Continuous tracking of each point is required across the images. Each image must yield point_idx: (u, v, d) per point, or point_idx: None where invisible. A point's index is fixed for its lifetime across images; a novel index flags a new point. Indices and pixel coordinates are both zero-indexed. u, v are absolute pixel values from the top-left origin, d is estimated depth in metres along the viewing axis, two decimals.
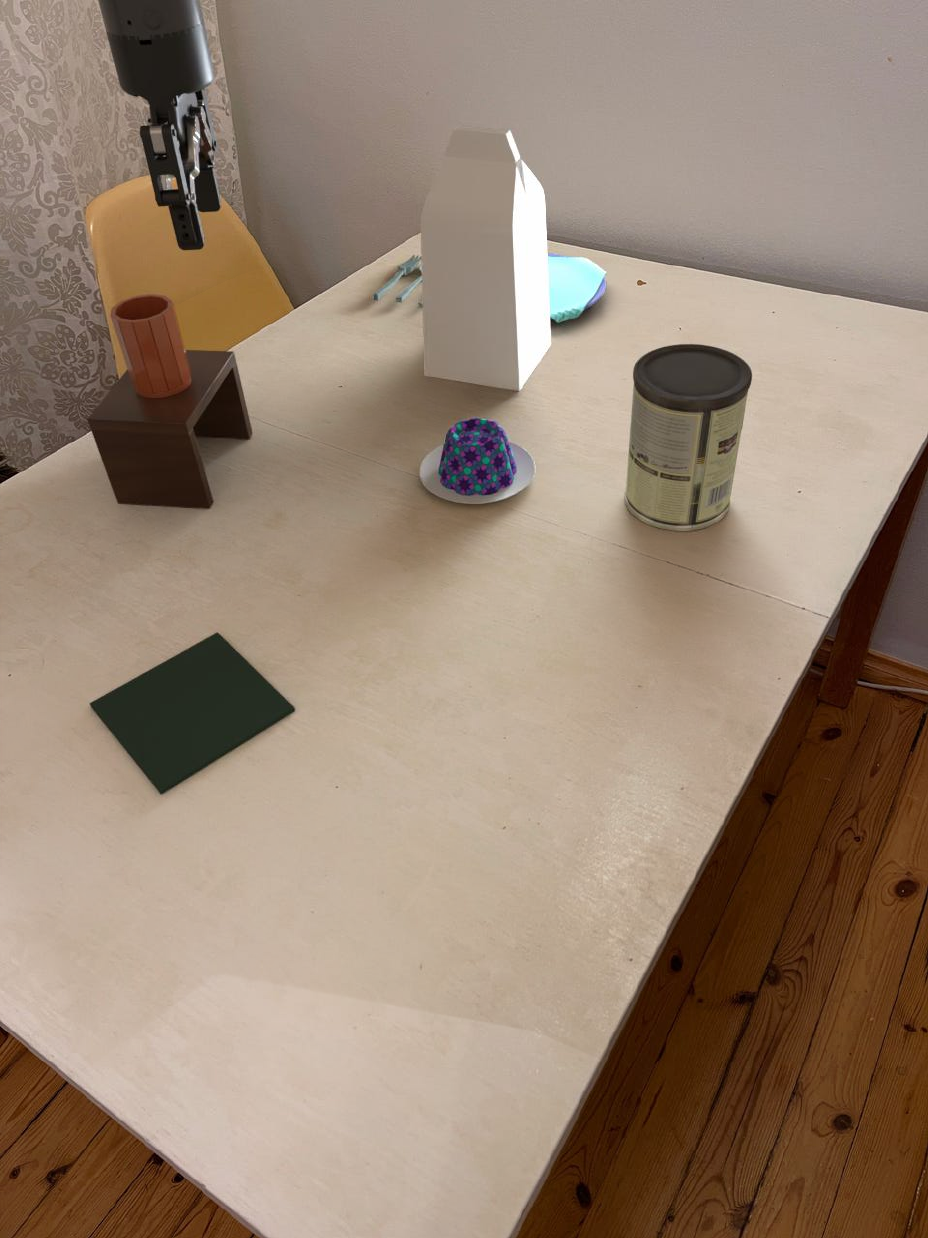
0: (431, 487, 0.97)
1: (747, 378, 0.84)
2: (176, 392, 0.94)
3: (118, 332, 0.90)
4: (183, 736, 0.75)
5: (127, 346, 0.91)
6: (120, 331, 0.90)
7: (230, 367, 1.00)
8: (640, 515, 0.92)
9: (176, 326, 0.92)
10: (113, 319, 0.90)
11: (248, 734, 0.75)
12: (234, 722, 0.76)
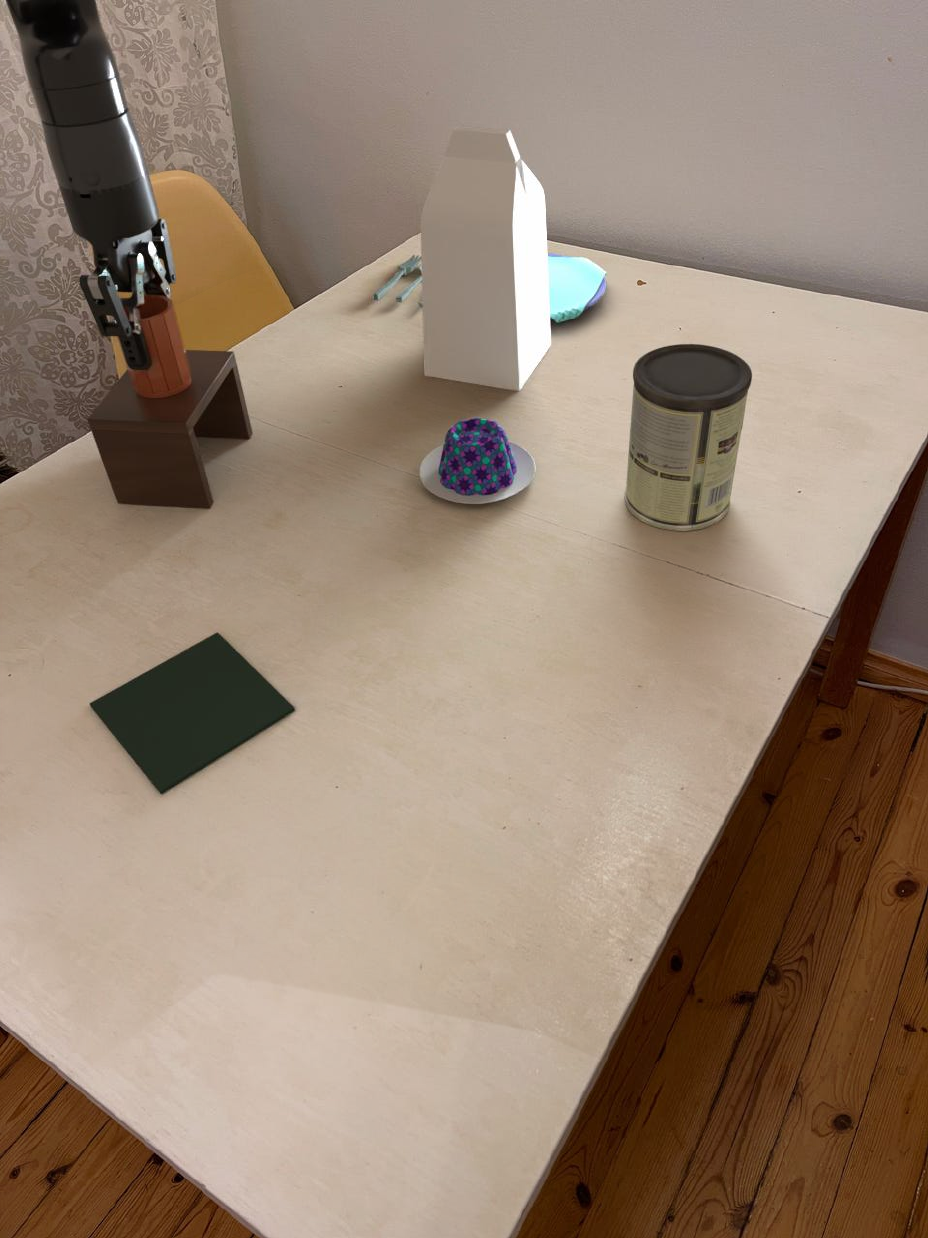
0: (431, 487, 0.97)
1: (747, 378, 0.84)
2: (176, 392, 0.94)
3: None
4: (183, 736, 0.75)
5: None
6: None
7: (230, 367, 1.00)
8: (640, 515, 0.92)
9: (176, 326, 0.92)
10: None
11: (248, 734, 0.75)
12: (234, 722, 0.76)
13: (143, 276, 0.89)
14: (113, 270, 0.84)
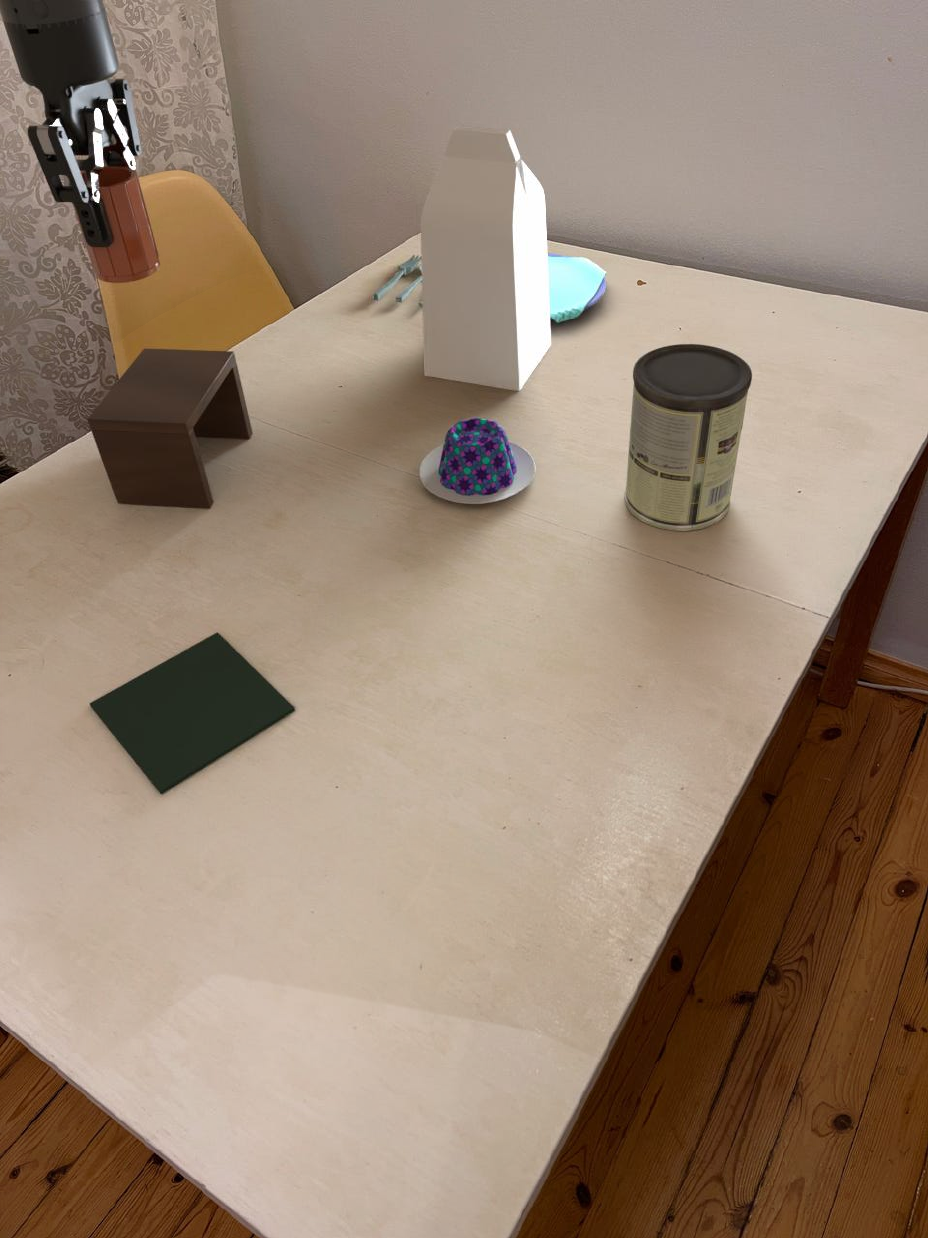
0: (431, 487, 0.97)
1: (747, 378, 0.84)
2: (141, 276, 0.85)
3: None
4: (183, 736, 0.75)
5: None
6: None
7: (230, 367, 1.00)
8: (640, 515, 0.92)
9: (141, 199, 0.83)
10: None
11: (248, 734, 0.75)
12: (234, 722, 0.76)
13: (102, 138, 0.79)
14: (66, 123, 0.75)
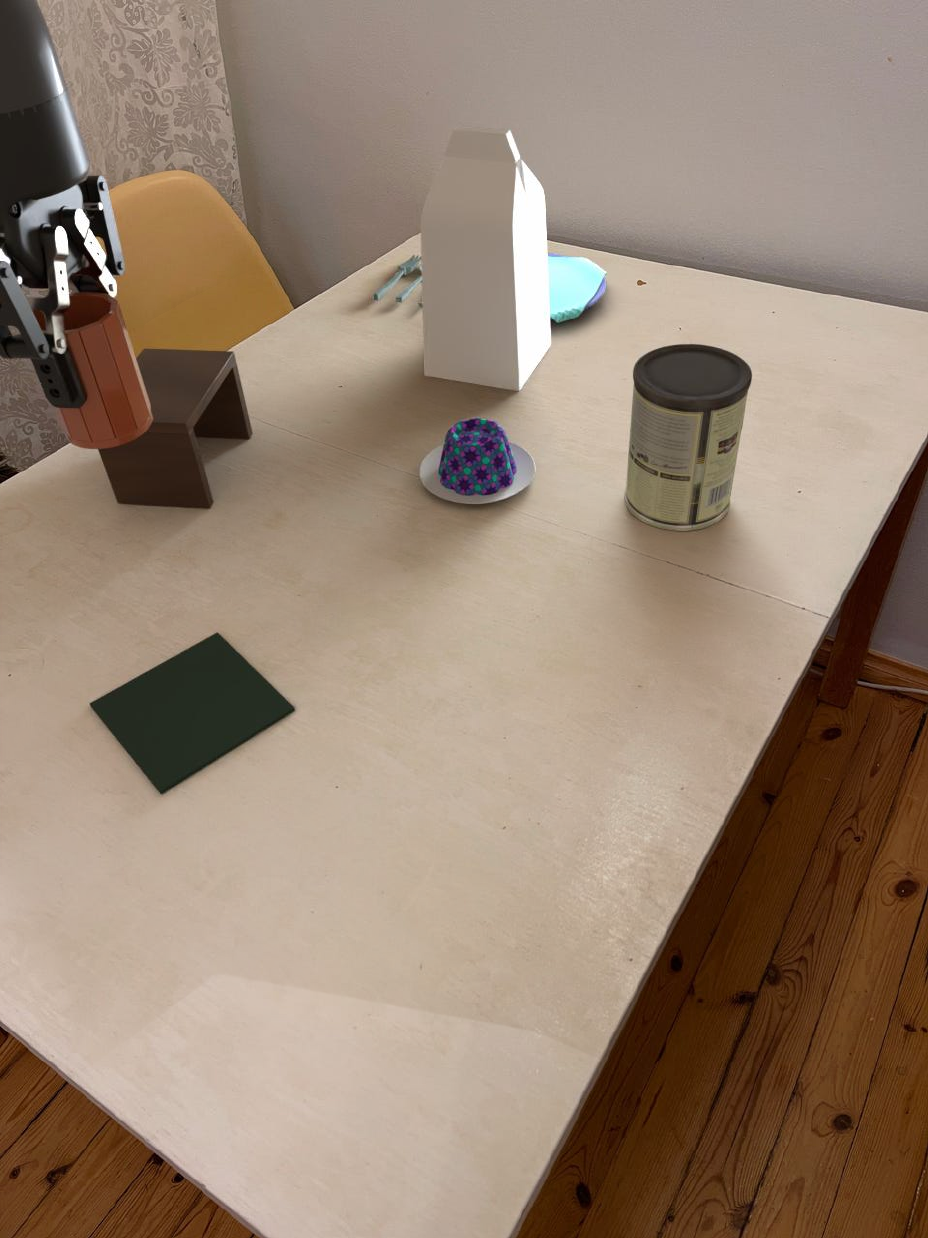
0: (431, 487, 0.97)
1: (747, 378, 0.84)
2: (127, 439, 0.63)
3: None
4: (183, 736, 0.75)
5: None
6: None
7: (230, 367, 1.00)
8: (640, 515, 0.92)
9: (125, 340, 0.60)
10: None
11: (248, 734, 0.75)
12: (234, 722, 0.76)
13: (69, 263, 0.57)
14: (14, 253, 0.52)
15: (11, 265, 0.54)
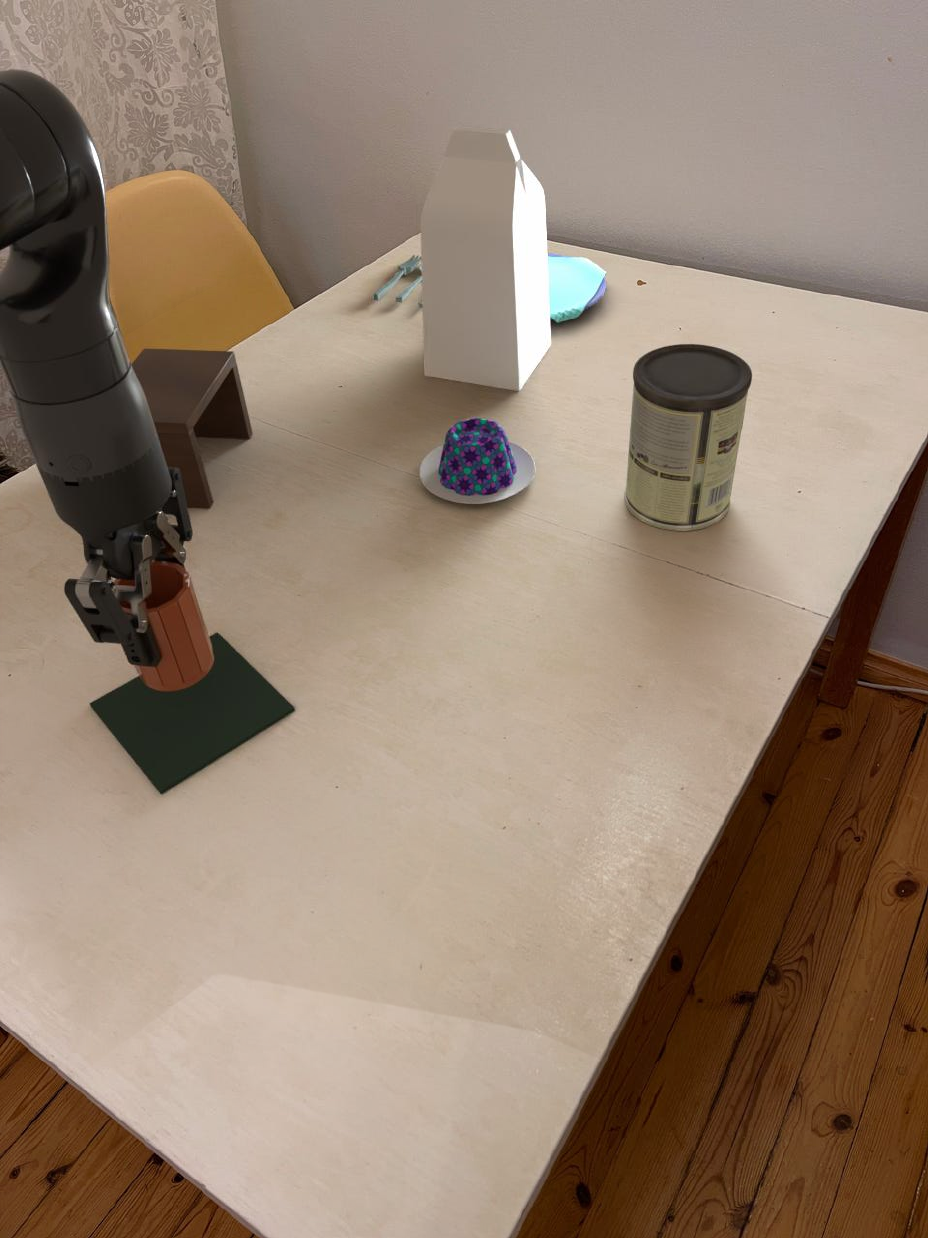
0: (431, 487, 0.97)
1: (747, 378, 0.84)
2: (193, 682, 0.73)
3: None
4: (183, 736, 0.75)
5: None
6: None
7: (230, 367, 1.00)
8: (640, 515, 0.92)
9: (194, 607, 0.70)
10: None
11: (248, 734, 0.75)
12: (234, 722, 0.76)
13: None
14: (110, 566, 0.62)
15: None
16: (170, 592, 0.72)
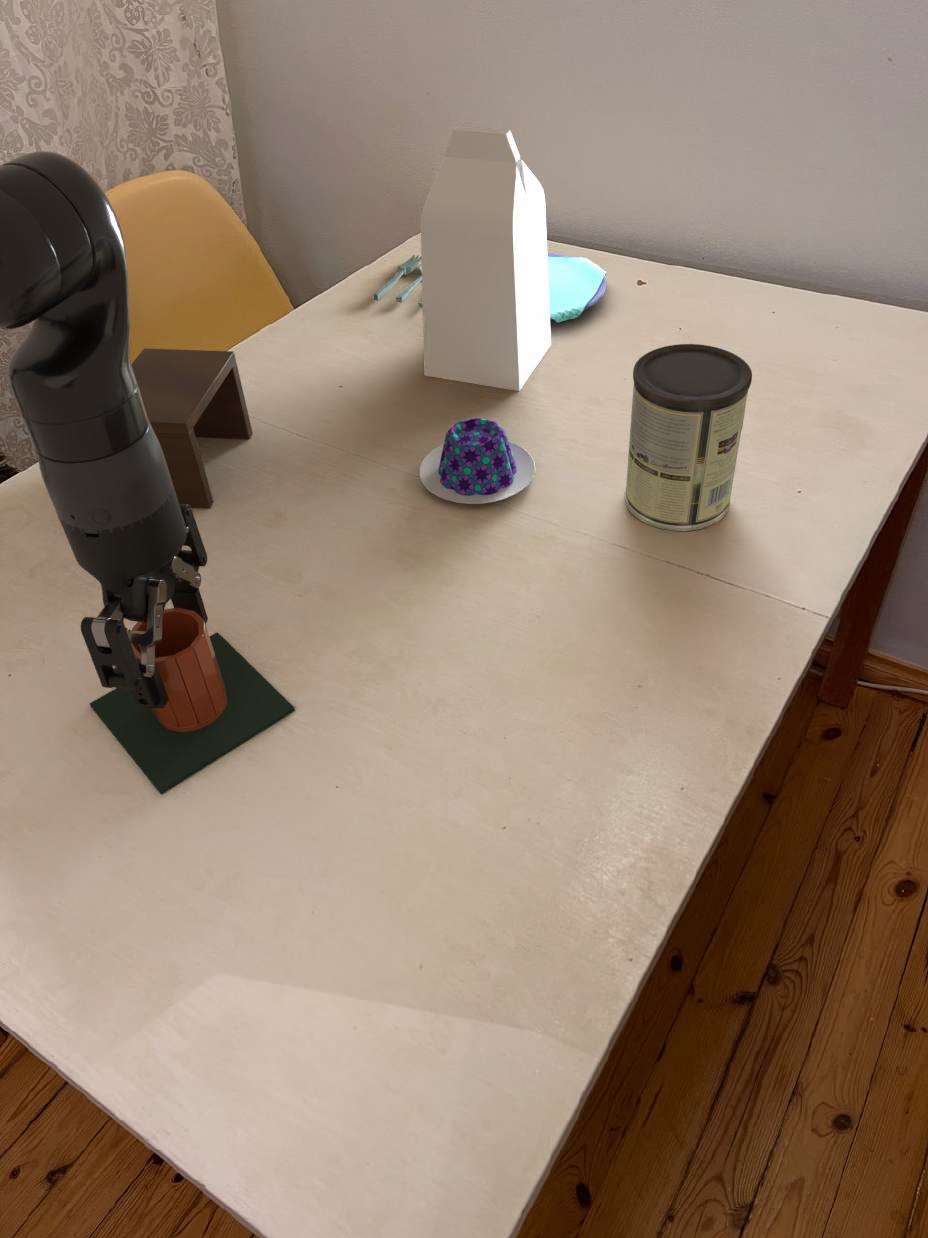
0: (431, 487, 0.97)
1: (747, 378, 0.84)
2: (208, 723, 0.76)
3: None
4: (183, 736, 0.75)
5: None
6: None
7: (230, 367, 1.00)
8: (640, 515, 0.92)
9: (209, 652, 0.73)
10: None
11: (248, 734, 0.75)
12: (234, 722, 0.76)
13: None
14: (126, 609, 0.65)
15: None
16: (185, 637, 0.76)
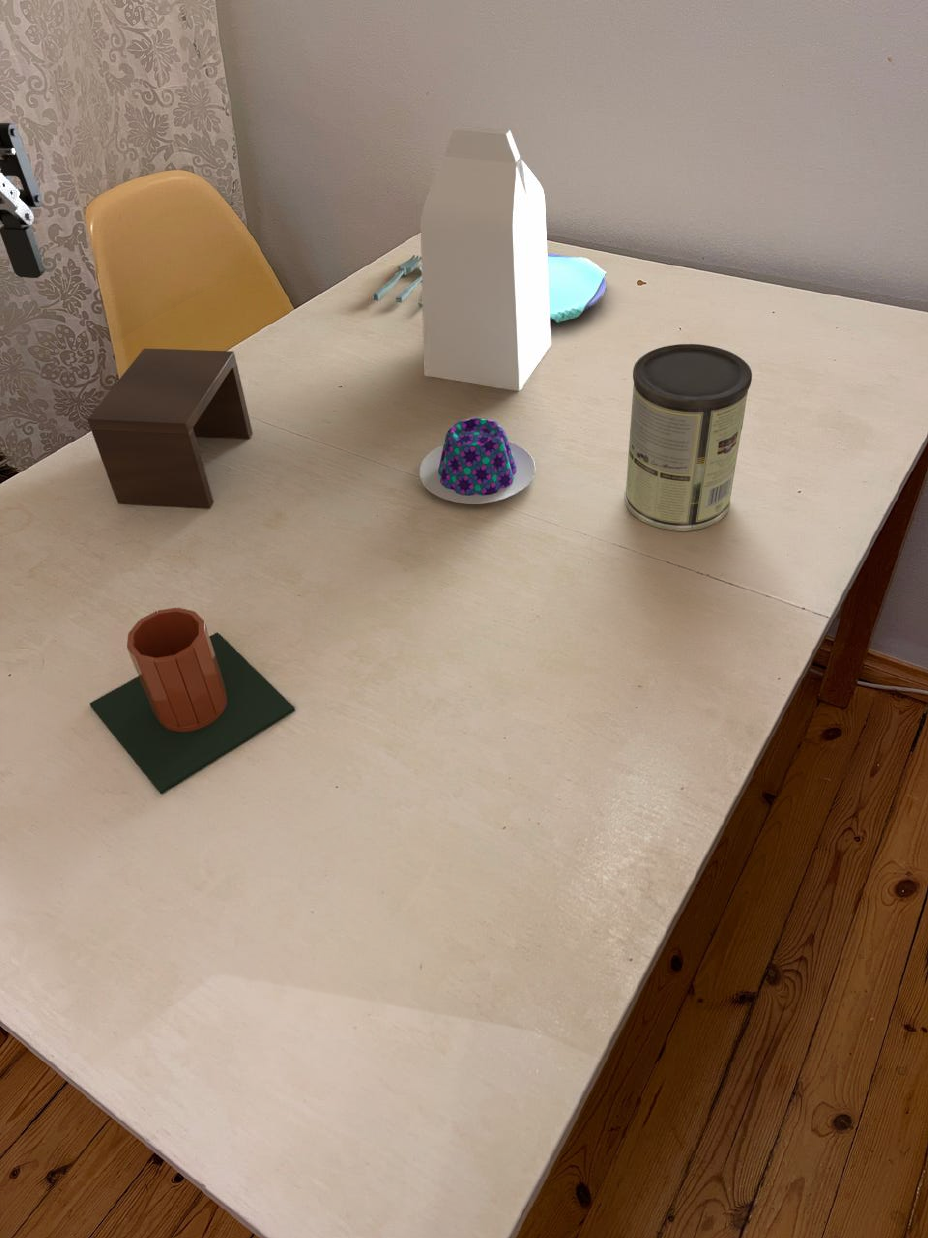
0: (431, 487, 0.97)
1: (747, 378, 0.84)
2: (208, 723, 0.76)
3: (136, 666, 0.72)
4: (183, 736, 0.75)
5: (148, 683, 0.72)
6: (139, 667, 0.71)
7: (230, 367, 1.00)
8: (640, 515, 0.92)
9: (209, 652, 0.73)
10: (130, 653, 0.71)
11: (248, 734, 0.75)
12: (234, 722, 0.76)
13: None
14: None
15: None
16: (185, 637, 0.76)
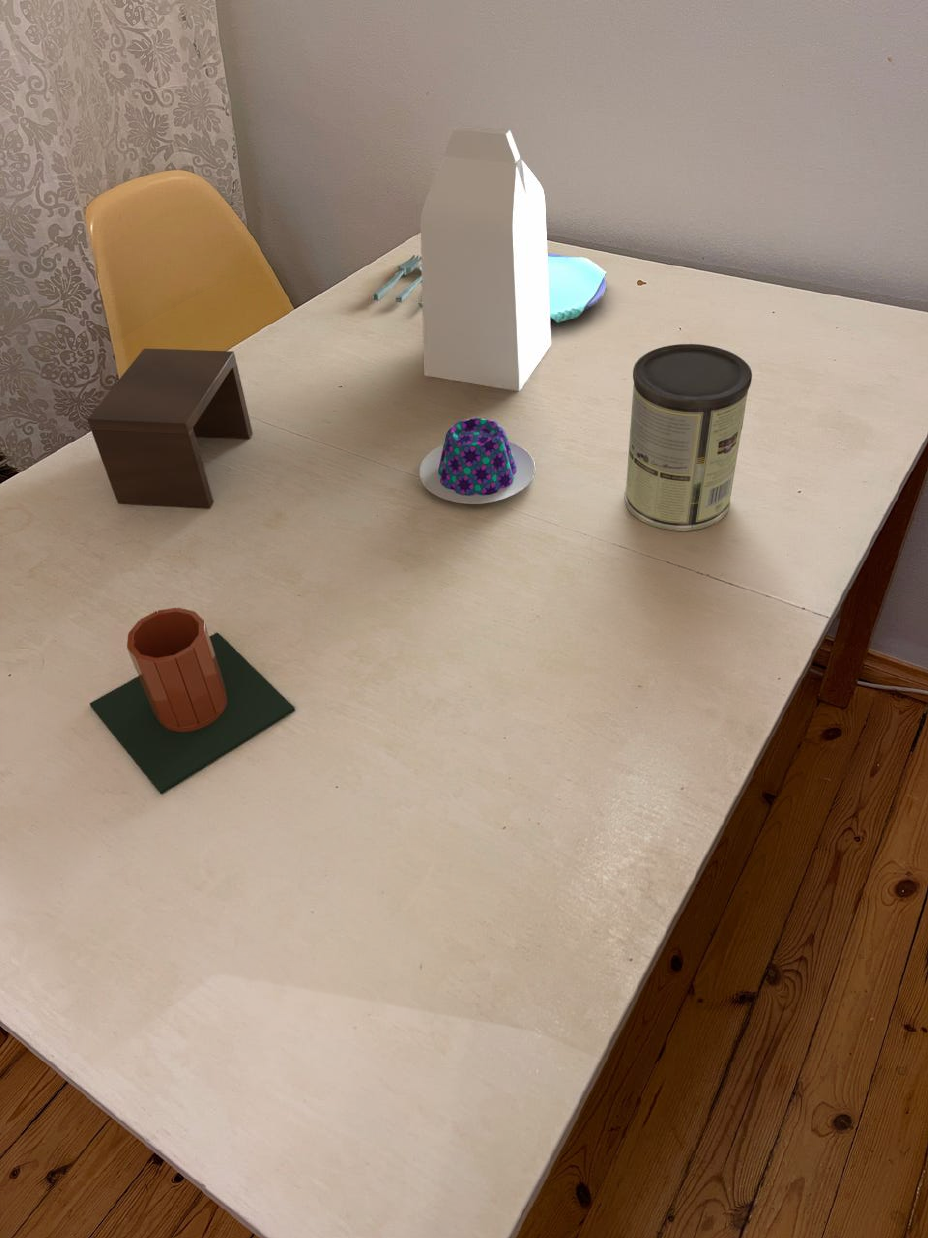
0: (431, 487, 0.97)
1: (747, 378, 0.84)
2: (208, 723, 0.76)
3: (136, 666, 0.72)
4: (183, 736, 0.75)
5: (148, 683, 0.72)
6: (139, 667, 0.71)
7: (230, 367, 1.00)
8: (640, 515, 0.92)
9: (209, 652, 0.73)
10: (130, 653, 0.71)
11: (248, 734, 0.75)
12: (234, 722, 0.76)
13: None
14: None
15: None
16: (185, 637, 0.76)
